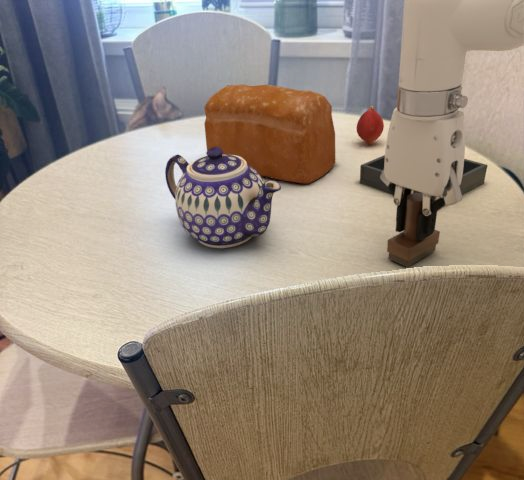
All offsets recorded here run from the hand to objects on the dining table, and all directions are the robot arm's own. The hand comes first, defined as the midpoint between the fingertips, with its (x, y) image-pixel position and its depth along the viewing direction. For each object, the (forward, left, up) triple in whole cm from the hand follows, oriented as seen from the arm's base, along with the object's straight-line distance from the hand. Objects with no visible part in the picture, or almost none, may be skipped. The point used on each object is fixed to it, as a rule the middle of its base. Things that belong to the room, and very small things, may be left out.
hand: (414, 231), depth 78 cm
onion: (+38, -33, -4) cm, 50 cm away
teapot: (+27, +15, -4) cm, 31 cm away
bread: (+45, -10, -4) cm, 46 cm away
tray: (+16, -23, -4) cm, 28 cm away
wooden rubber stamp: (0, 0, -4) cm, 4 cm away
